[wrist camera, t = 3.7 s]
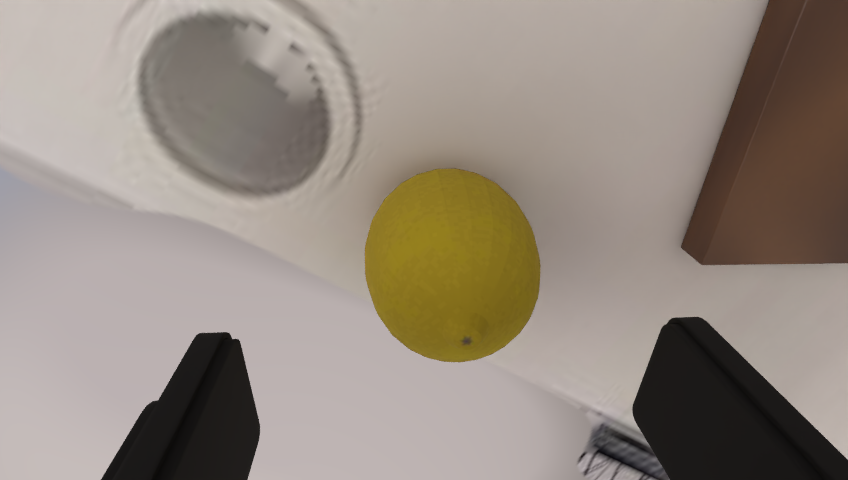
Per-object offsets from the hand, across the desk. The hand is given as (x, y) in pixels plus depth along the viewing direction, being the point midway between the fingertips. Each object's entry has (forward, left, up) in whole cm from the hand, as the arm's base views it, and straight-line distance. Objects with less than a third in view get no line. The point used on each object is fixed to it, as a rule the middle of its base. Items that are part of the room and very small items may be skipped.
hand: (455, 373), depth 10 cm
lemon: (0, 0, -9) cm, 9 cm away
